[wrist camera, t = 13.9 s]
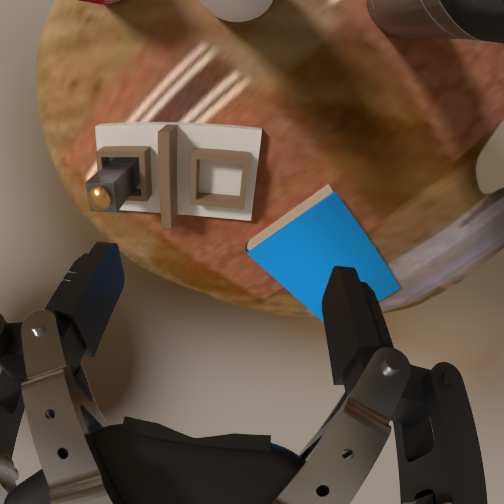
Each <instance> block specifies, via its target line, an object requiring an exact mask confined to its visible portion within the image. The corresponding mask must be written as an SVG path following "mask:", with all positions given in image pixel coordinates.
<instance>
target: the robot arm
mask: <svg viewBox="0 0 504 504" xmlns="http://www.w3.org/2000/svg"><path fill="white" fill-rule="evenodd" d="M367 7H368V11H369V13H370V15H371V17H372V19H373V20H374V22H375V23H376V24H377V25H378V26H379V27H380V28H381V29H382V30H383V31H385V32H386V33H388V34H390V35H391V36H394V37H397V38H403V39H407V38H446V39H468V40H480V41H490V42H498V43H504V0H367ZM123 286H124V272H123V267H122V263H121V258H120V253H119V248H118V245H117V244H116V243H108V242H97V243H96V244H95V245H94V246H93V248H92V249H91V251H90V253H89V254H86V253H85V254H84V255H82V256H81V257H80V258H78V259H77V260H76V261H75V262H74V263H73V265H72V266H71V268H70V269H69V272H68V273H67V274H66V275H65V277H64V280H63V281H62V282H61V283H60V285H59V286H58V288H57V290H56V291H55V293H54V294H53V296H52V298H51V299H50V301H49V303H48V304H47V306H46V308H45V309H44V310H37V311H35V312H33V313H31V314H30V315H28V317H26V319H25V320H24V322H21V323H7V322H6V321H5V319H4V318H3V316H2V315H1V314H0V367H1V368H2V372H1V374H0V504H350V502H351V501H352V499H353V497H354V496H355V495H356V493H357V492H358V490H359V488H360V487H361V485H362V484H363V482H364V480H365V479H366V477H367V476H368V474H369V472H370V470H371V469H372V467H373V465H374V463H375V462H376V460H377V458H378V456H379V454H380V453H381V451H382V449H383V447H384V445H385V443H386V441H387V439H388V437H389V435H390V432H391V426H390V425H389V421H390V420H391V421H393V424H394V432H395V439H396V448H397V457H398V467H399V480H400V496H401V504H487V493H486V484H485V476H484V469H483V463H482V457H481V451H480V446H479V441H478V436H477V431H476V427H475V423H474V418H473V414H472V411H471V407H470V403H469V399H468V396H467V392H466V389H465V386H464V382H463V379H462V377H461V374H460V372H459V371H458V369H457V368H456V367H454V366H453V365H452V364H450V363H447V362H440V363H438V364H436V365H435V366H434V367H433V368H432V369H431V370H429V369H425V368H421V367H417V366H413V365H410V363H409V361H408V359H407V357H406V356H405V355H404V354H403V353H402V352H400V351H399V350H397V349H395V348H394V347H393V344H392V341H391V338H390V335H389V331H388V328H387V326H386V323H385V320H384V317H383V315H382V311H381V308H380V305H378V304H379V303H378V300H377V297H376V294H375V292H374V291H373V290H372V288H371V287H370V286H369V285H368V284H367V283H366V282H360V279H359V276H358V273H357V271H356V269H355V268H354V267H345V266H334V267H333V269H332V272H331V275H330V278H329V281H328V283H327V286H326V289H325V292H324V294H323V298H322V315H323V320H324V326H325V332H326V337H327V343H328V350H329V355H330V362H331V369H332V376H333V382H334V385H344V386H345V393H344V394H343V396H342V397H341V399H340V400H339V402H338V403H337V405H336V406H335V408H334V409H333V411H332V412H331V413H330V415H329V416H328V418H327V419H326V421H325V422H324V424H323V425H322V426H321V428H320V429H319V431H318V432H317V433H316V434H315V436H314V437H313V438H312V439H311V440H310V442H309V443H308V444H307V445H306V447H305V448H304V449H303V450H302V452H301V453H300V454H299V455H297V454H295V453H294V452H292V451H290V450H288V449H286V448H284V447H282V446H279V445H277V444H273V443H271V435H248V434H227V435H220V436H212V437H204V438H192V437H189V436H187V435H184V434H182V433H179V432H177V431H174V430H172V429H170V428H167V427H165V426H163V425H161V424H158V423H153V422H148V421H143V420H139V419H134V418H130V417H125V418H124V422H123V424H117V425H110V426H108V425H107V423H106V421H105V419H104V417H103V416H102V414H101V412H100V411H99V409H98V407H97V405H96V402H95V400H94V397H93V394H92V392H91V389H90V386H89V383H88V381H87V378H86V375H85V372H84V369H83V366H82V363H81V359H82V357H83V355H87V356H90V357H94V356H95V353H96V351H97V348H98V345H99V343H100V340H101V338H102V336H103V333H104V331H105V328H106V326H107V324H108V321H109V319H110V316H111V314H112V312H113V310H114V308H115V305H116V303H117V301H118V299H119V296H120V294H121V292H122V289H123ZM24 408H25V410H26V414H27V419H28V423H29V427H30V430H31V434H32V438H33V441H34V444H35V448H36V451H37V454H38V457H39V460H40V463H41V466H42V469H41V470H39V471H38V472H37V473H35V474H34V475H32V476H31V477H29V478H28V479H26V480H25V481H23V482H22V483H20V484H19V485H18V486H16V482H15V481H16V480H18V478H19V473H18V471H17V469H16V468H15V467H14V463H13V461H12V454H13V450H14V446H15V441H16V437H17V433H18V430H19V426H20V422H21V419H22V415H23V412H24ZM430 419H431V421H430ZM431 424H432V426H431ZM432 430H433V432H432ZM433 435H434V437H433Z"/></svg>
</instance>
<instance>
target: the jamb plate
mask: <svg viewBox="0 0 504 504" xmlns="http://www.w3.org/2000/svg"><path fill="white" fill-rule="evenodd" d="M95 129H96V143H97V151H96V159H97V168H98V171H99V170H101V169H102V168H103V167H104V166H105V165H106V164H108V163H109V162H110V161H111V160H112V159H114V158H139V167H140V184H139V185H138V186H137V188H136V189H135V190H134V191H133V193H132V194H131V195H130V196H129V198H128V199H127V200H126V201H125V203H124V204H123V205H122V207H121V208H120V209H119V210H126V211H141V212H155V213H161V227H162V228H172V226H173V224H174V221H175V219H176V217H177V215H178V214H181V215H193V216H205V217H216V218H227V219H237V220H248V221H251V216H252V208H253V200H254V192H255V183H256V175H257V167H258V159H259V151H260V143H261V135H262V128H256V127H246V126H235V125H222V124H206V123H182V122H129V123H106V124H99V125H97V126H95Z"/></svg>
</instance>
